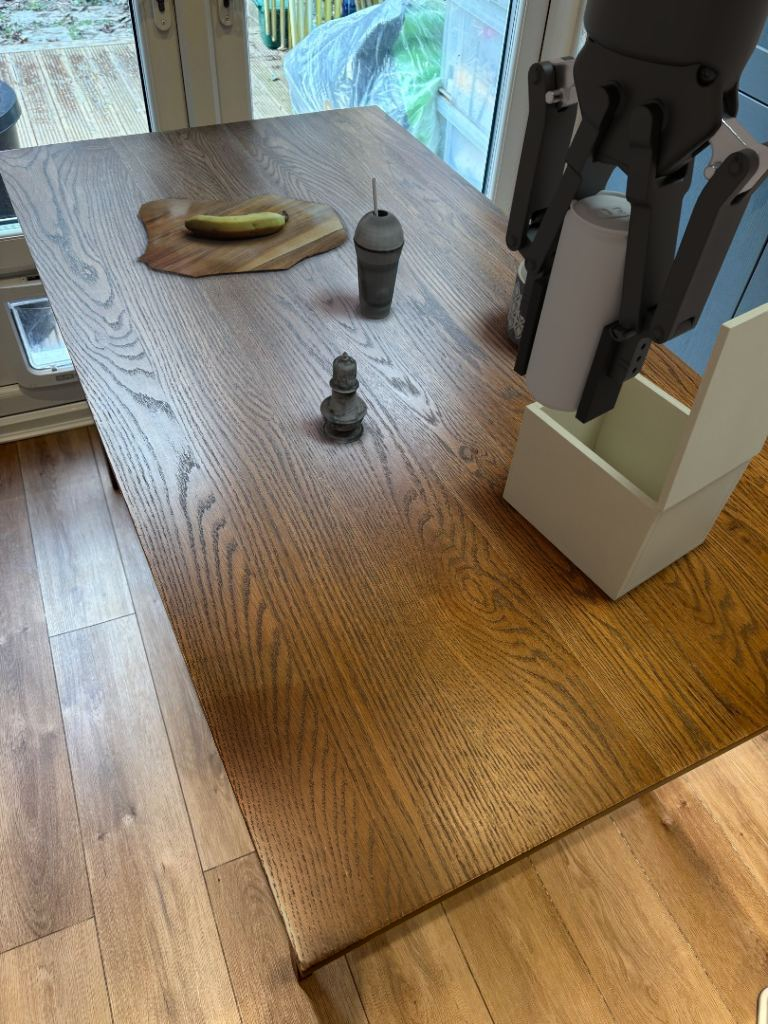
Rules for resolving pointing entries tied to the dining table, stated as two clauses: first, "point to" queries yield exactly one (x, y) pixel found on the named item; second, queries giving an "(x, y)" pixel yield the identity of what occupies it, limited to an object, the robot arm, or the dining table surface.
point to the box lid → (724, 409)
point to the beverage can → (579, 298)
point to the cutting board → (236, 234)
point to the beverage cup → (377, 259)
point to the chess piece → (343, 403)
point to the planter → (516, 307)
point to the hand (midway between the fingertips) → (562, 388)
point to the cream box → (612, 486)
